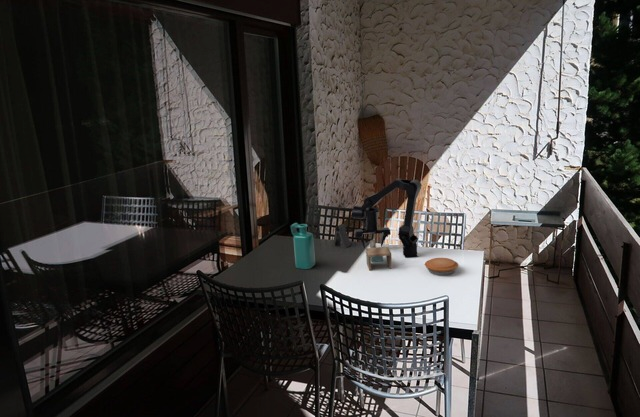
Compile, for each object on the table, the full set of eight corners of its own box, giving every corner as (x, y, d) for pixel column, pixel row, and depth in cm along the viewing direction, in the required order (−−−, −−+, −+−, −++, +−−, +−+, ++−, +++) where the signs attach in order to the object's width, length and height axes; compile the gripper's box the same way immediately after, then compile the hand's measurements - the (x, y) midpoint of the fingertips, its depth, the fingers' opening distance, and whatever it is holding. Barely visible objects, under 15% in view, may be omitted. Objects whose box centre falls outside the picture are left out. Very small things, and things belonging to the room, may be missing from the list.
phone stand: (351, 245, 290) (350, 224, 287) (345, 248, 285) (344, 227, 283) (337, 243, 295) (336, 223, 292) (331, 246, 291) (330, 225, 288)
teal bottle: (316, 264, 265) (313, 222, 259) (309, 269, 257) (306, 227, 252) (299, 262, 269) (296, 221, 263) (292, 268, 261) (288, 226, 256)
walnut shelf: (388, 261, 261) (388, 246, 259) (391, 269, 251) (391, 253, 249) (366, 263, 260) (366, 248, 258) (369, 270, 251) (368, 255, 249)
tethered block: (378, 249, 279) (377, 239, 277) (383, 260, 262) (382, 249, 260) (367, 250, 279) (366, 240, 277) (371, 261, 262) (370, 250, 260)
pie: (434, 279, 235) (434, 269, 234) (419, 268, 250) (418, 258, 248) (464, 274, 239) (464, 264, 238) (447, 263, 253) (447, 253, 252)
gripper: (386, 214, 281) (387, 241, 285) (352, 216, 281) (354, 244, 285) (390, 219, 270) (391, 248, 274) (354, 222, 270) (356, 250, 274)
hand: (372, 247), depth 277 cm, fingers open, 9 cm apart
